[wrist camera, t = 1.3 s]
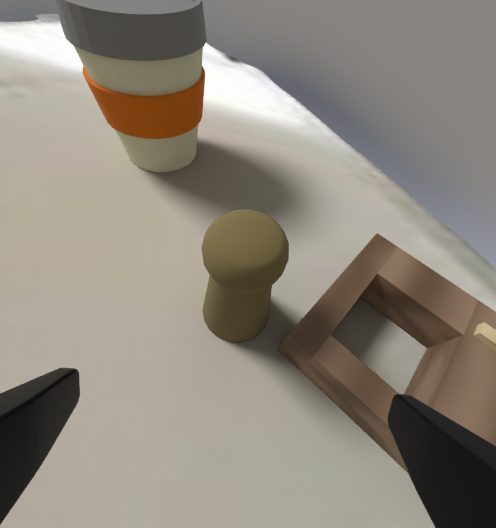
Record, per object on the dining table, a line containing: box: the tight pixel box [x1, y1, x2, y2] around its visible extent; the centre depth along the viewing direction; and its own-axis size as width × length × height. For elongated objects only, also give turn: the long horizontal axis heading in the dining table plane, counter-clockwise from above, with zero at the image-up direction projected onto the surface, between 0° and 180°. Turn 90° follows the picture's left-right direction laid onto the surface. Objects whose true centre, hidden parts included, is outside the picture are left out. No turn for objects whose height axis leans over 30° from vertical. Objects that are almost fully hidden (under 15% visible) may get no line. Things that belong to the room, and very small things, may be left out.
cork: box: [202, 209, 289, 342], centre depth 18 cm, size 6×6×11 cm
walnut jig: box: [278, 233, 496, 472], centre depth 20 cm, size 20×14×5 cm
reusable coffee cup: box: [54, 0, 206, 172], centre depth 28 cm, size 12×12×15 cm
